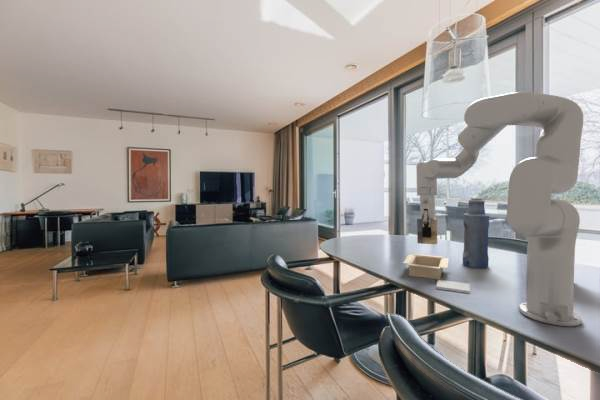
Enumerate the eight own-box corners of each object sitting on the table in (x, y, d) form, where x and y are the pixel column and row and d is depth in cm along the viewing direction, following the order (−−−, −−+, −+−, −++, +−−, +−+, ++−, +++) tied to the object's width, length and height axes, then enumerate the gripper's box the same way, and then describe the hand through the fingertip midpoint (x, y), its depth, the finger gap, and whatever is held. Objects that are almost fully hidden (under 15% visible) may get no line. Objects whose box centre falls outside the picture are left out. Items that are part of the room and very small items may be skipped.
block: (436, 244, 112) (436, 219, 112) (417, 243, 115) (417, 218, 115) (437, 242, 116) (436, 218, 116) (419, 241, 119) (418, 217, 119)
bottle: (460, 262, 131) (460, 197, 130) (484, 263, 128) (484, 197, 127) (466, 267, 122) (466, 198, 121) (492, 269, 119) (493, 198, 118)
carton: (447, 282, 104) (447, 269, 104) (401, 276, 112) (401, 264, 112) (449, 268, 121) (449, 257, 121) (409, 263, 129) (409, 253, 129)
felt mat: (469, 293, 93) (469, 291, 93) (436, 288, 98) (436, 286, 98) (469, 285, 100) (469, 283, 100) (437, 281, 105) (437, 279, 105)
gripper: (435, 191, 106) (436, 240, 106) (438, 191, 121) (439, 234, 121) (414, 192, 110) (414, 238, 110) (419, 192, 124) (420, 233, 125)
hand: (427, 235), depth 116 cm, fingers closed on block, 4 cm apart
